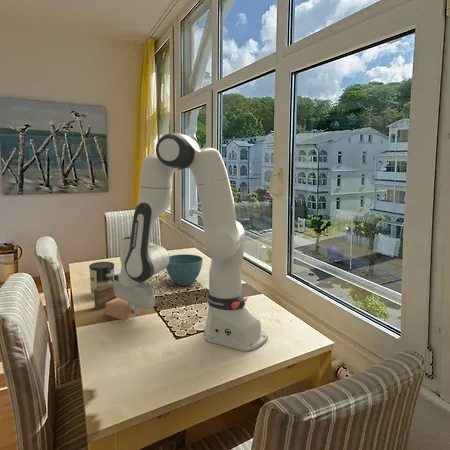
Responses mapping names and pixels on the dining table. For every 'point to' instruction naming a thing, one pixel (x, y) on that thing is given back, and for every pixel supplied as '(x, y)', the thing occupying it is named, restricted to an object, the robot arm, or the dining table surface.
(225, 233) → the robot arm
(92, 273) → the coffee can
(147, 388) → the dining table surface
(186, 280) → the plant pot
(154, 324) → the dining table surface
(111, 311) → the terracotta block
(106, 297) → the walnut board
